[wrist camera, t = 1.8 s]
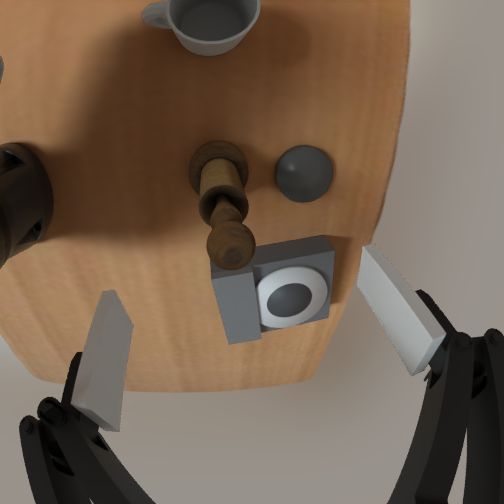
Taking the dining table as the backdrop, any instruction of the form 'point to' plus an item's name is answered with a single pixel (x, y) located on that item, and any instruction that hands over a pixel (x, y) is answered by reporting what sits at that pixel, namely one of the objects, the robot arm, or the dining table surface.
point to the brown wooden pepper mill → (223, 203)
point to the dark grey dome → (303, 173)
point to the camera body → (275, 288)
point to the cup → (205, 22)
